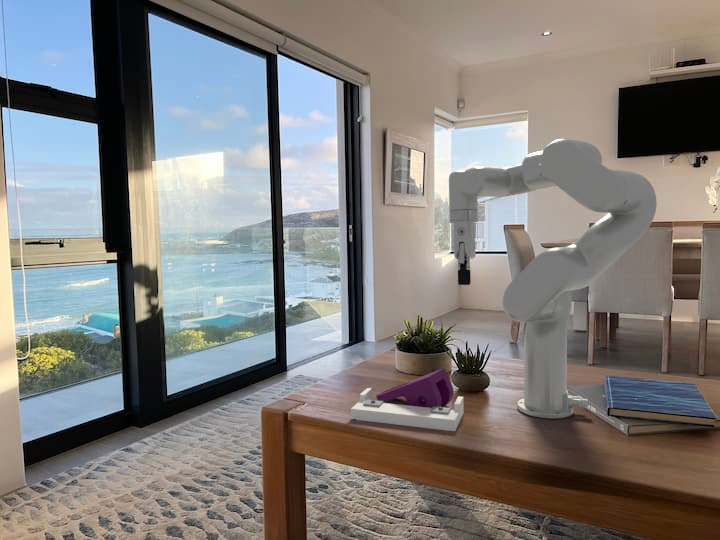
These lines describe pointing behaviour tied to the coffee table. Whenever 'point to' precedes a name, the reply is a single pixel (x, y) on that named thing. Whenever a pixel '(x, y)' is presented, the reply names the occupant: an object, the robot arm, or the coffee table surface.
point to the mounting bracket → (423, 391)
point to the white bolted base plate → (407, 413)
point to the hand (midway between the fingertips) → (464, 284)
